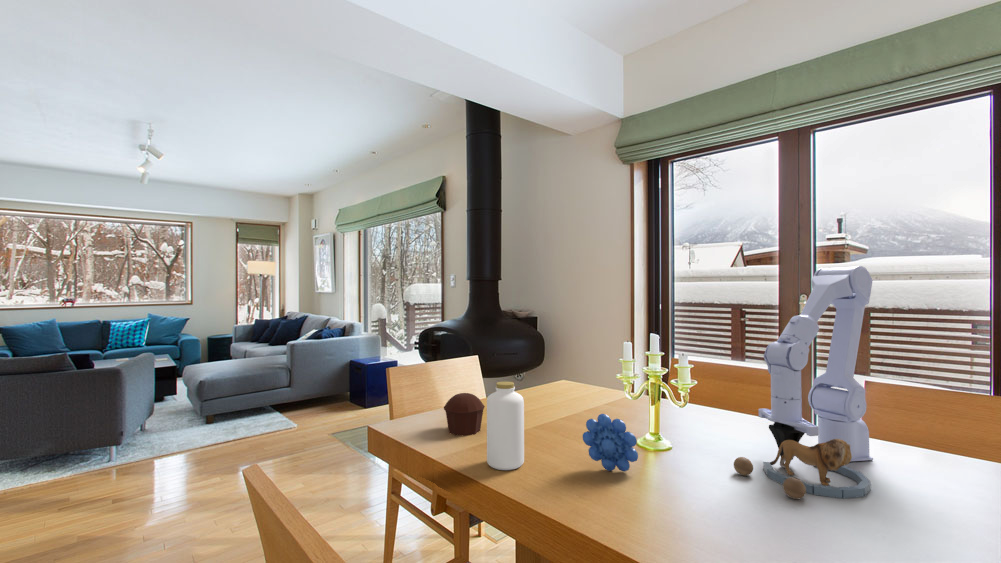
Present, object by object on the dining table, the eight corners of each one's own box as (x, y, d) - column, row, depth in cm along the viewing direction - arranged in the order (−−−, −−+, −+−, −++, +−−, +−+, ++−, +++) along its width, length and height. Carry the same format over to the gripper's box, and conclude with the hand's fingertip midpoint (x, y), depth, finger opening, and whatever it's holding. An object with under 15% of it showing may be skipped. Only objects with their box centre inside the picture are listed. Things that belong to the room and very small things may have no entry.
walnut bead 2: (795, 492, 85) (794, 473, 85) (811, 501, 82) (810, 481, 82) (778, 494, 85) (777, 475, 85) (793, 503, 81) (793, 483, 81)
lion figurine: (855, 484, 89) (854, 438, 89) (849, 492, 85) (848, 445, 86) (772, 463, 100) (771, 423, 100) (763, 470, 96) (763, 427, 96)
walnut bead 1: (745, 470, 96) (744, 453, 96) (757, 477, 92) (757, 460, 92) (729, 472, 95) (729, 454, 95) (741, 479, 92) (741, 461, 92)
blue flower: (579, 474, 94) (578, 417, 94) (584, 463, 100) (584, 409, 101) (637, 482, 90) (636, 422, 90) (638, 470, 97) (638, 413, 97)
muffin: (449, 423, 131) (449, 389, 131) (487, 425, 129) (487, 390, 130) (438, 436, 119) (438, 398, 119) (479, 438, 118) (479, 400, 118)
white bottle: (531, 464, 100) (531, 382, 100) (506, 475, 94) (506, 388, 94) (504, 454, 106) (504, 378, 106) (478, 464, 100) (478, 383, 100)
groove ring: (824, 464, 100) (824, 457, 100) (893, 493, 85) (893, 485, 85) (754, 469, 97) (753, 462, 97) (813, 501, 82) (812, 492, 82)
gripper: (746, 390, 106) (747, 448, 105) (796, 405, 91) (797, 473, 91) (773, 389, 107) (774, 446, 106) (826, 404, 92) (828, 471, 92)
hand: (787, 459), depth 99 cm, fingers closed
